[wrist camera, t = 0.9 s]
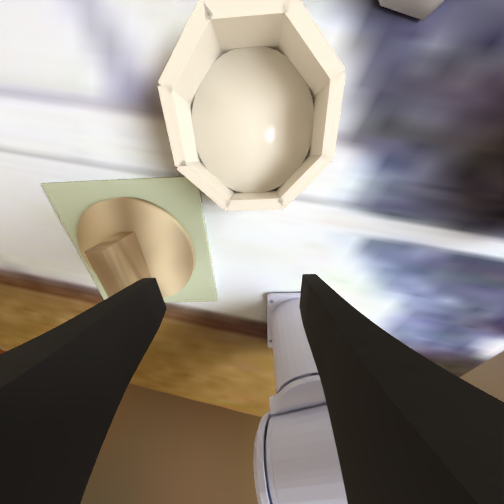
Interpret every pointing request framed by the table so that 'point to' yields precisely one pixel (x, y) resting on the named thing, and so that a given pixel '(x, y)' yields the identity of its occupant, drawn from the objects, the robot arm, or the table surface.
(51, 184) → the mat
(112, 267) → the lid
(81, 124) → the table surface
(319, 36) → the bowl
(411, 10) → the flask
